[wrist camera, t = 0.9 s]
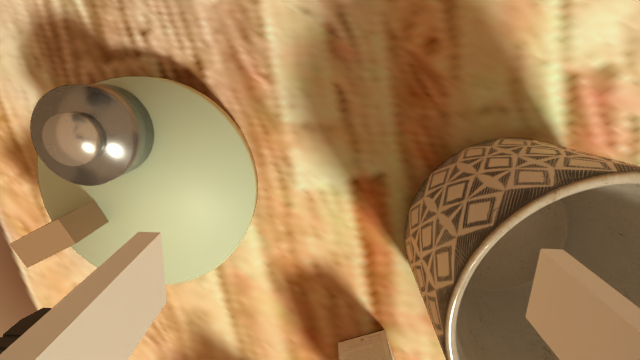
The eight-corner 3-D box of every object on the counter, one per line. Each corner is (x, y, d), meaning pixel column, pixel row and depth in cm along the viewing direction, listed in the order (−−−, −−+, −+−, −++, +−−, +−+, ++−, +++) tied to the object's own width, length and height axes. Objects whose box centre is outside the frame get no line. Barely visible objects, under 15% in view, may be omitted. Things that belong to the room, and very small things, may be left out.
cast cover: (46, 109, 34) (-7, 115, 28) (121, 67, 33) (81, 65, 27) (98, 187, 35) (57, 207, 30) (171, 150, 34) (142, 163, 29)
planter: (629, 214, 38) (843, 311, 22) (489, 339, 42) (586, 496, 27) (495, 88, 35) (633, 97, 20) (358, 235, 39) (380, 342, 24)
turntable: (10, 136, 36) (-63, 149, 30) (189, 36, 34) (154, 26, 27) (127, 303, 41) (88, 348, 34) (293, 226, 38) (286, 258, 31)
